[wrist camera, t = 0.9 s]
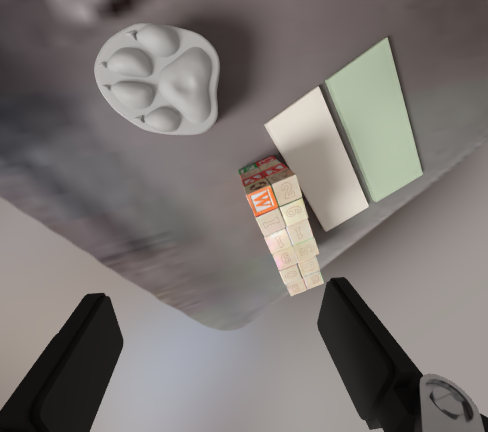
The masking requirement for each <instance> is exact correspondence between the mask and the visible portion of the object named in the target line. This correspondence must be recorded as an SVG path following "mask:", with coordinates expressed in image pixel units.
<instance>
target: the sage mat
mask: <svg viewBox="0 0 488 432" xmlns="http://www.w3.org/2000/svg"><path fill="white" fill-rule="evenodd" d="M325 82H326V84H327V87H328V89H329V92H330V94H331V97H332V99H333V102H334V104H335V107H336V109H337V112H338V114H339V117H340V119H341V122H342V124H343V127H344V129H345V132H346V134H347V137H348V139H349V142H350V144H351V147H352V149H353V152H354V154H355V157H356V159H357V162H358V164H359V167H360V169H361V172H362V174H363V177H364V179H365V182H366V184H367V187H368V189H369V192H370V194H371V197H372V199H373V201H375V202H378V201H379V200H381V199H383V198H384V197H386V196H388V195H389V194H391V193H393V192H394V191H396V190H398V189H399V188H401V187H403V186H404V185H406V184H408V183H409V182H411V181H413V180H415V179H416V178H418V177H420V176H421V175H423V173H422V169H421V165H420V161H419V158H418V154H417V150H416V146H415V142H414V138H413V134H412V130H411V126H410V123H409V119H408V115H407V111H406V107H405V103H404V99H403V95H402V92H401V88H400V84H399V80H398V76H397V72H396V68H395V64H394V60H393V57H392V53H391V49H390V45H389V41H388V37H387V38H384V39H382V40H381V41H379V42H378V43H377V44H375V45H374V46H372V47H371V48H370V49H368V50H367V51H365V52H364V53H363V54H361V55H360V56H358V57H357V58H356V59H354V60H353V61H351V62H350V63H349V64H347V65H346V66H344V67H343V68H342V69H340V70H339V71H337V72H336V73H335V74H333V75H332V76H330V77H329V78H328V79H326V80H325Z"/></svg>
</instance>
